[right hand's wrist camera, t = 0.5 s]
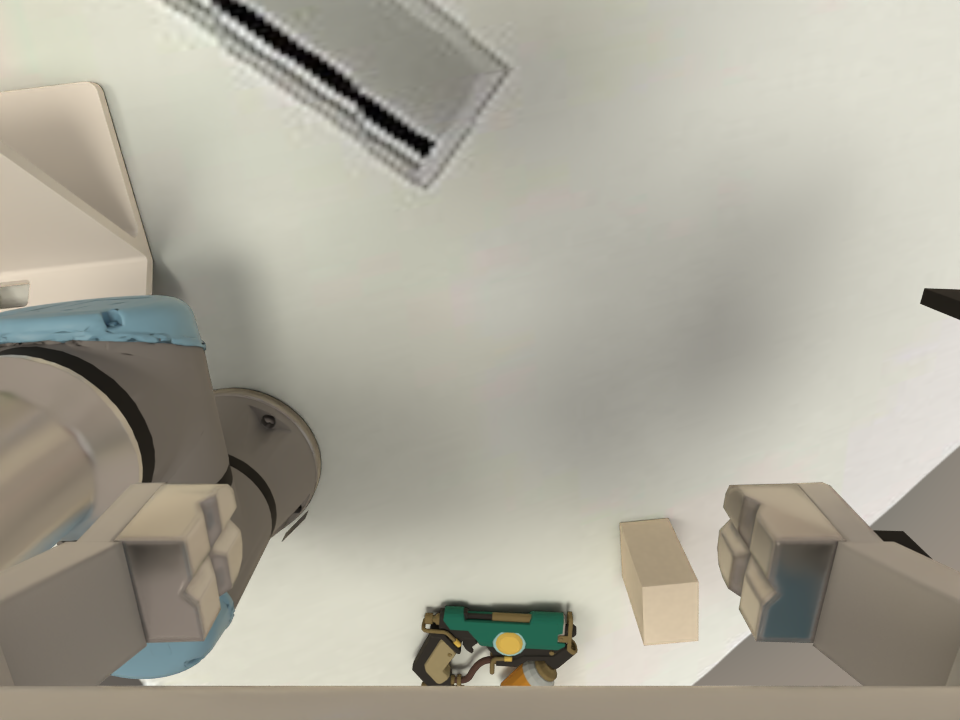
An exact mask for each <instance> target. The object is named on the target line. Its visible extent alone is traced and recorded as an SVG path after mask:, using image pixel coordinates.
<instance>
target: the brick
mask: <svg viewBox="0 0 960 720" xmlns="http://www.w3.org/2000/svg"><path fill="white" fill-rule="evenodd" d="M620 540H621V562H622V577H623V580H624V583H625V586H626V590H627V593H628V596H629V599H630V602H631V605H632V609H633V612H634V615H635V618H636V621H637V625H638V628H639V631H640V634H641V637H642V640H643V644H644V646H646V645H657V644H668V643H679V642H690V641H698V596H699V582H698V580H697V578H696V575H695V573H694V571H693V569H692V567H691V565H690V563H689V561H688V559H687V557H686V555H685V552H684V550H683V548H682V546H681V544H680V542H679V540H678V538H677V536H676V534H675V531H674V529H673V527H672V525H671V523H670V521H669V519H668V518H664V519H654V520H644V521H634V522H624V523H620Z"/></svg>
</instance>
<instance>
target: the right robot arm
mask: <svg viewBox="0 0 960 720" xmlns="http://www.w3.org/2000/svg"><path fill="white" fill-rule="evenodd" d="M236 508H237V505H236V500H235V495H234V491H233V489H232V488H231V487H230V486H229V485H228V484H200V483H164V482H163V483H136V484H132V485H130V486H129V487H128V488H127V489H126V490H125V491H124V492H123V493H122V494H121V495H120V497H119V498H118V499H117V500H116V501H115V502H114V503H113V504H112V505H111V506H110V507H109V508H108V509H107V510H106V511H105V512H104V513H103V514H102V515H101V516H100V517H99V518H98V519H97V521H96V522H95V523H94V524H93V525H92V526H91V527H90V528H89V529H88V530H87V531H86V532H85V533H84V534H83V535H82V536H81V537H80V538H79V539H78V540H77V541H76V542H64V543H62V544H60V545H58V546H56V547H53V548H51V549H49V550H47V551H45V552H43V553H40V554H38V555H36V556H34V557H32V558H30V559H27V560H25V561H23V562H21V563H19V564H16V565H14V566H12V567H10V568H8V569H6V570H3V571H1V572H0V720H960V572H959V571H956V570H954V569H952V568H950V567H948V566H946V565H943V564H941V563H939V562H937V561H935V560H933V559H930V558H928V557H926V556H924V555H922V554H920V553H917V552H915V551H913V550H911V549H909V548H907V547H904V546H902V545H900V544H898V543H896V542H884V541H883V540H882V539H881V538H880V537H879V536H878V535H877V534H876V533H875V532H874V531H873V530H872V529H871V528H870V527H869V526H868V525H867V524H866V523H865V521H864V520H863V519H862V518H861V517H860V516H859V515H858V514H857V513H856V512H855V511H854V510H853V509H852V508H851V507H850V506H849V505H848V504H847V503H846V502H845V501H844V500H843V498H842V497H841V496H840V495H839V494H838V493H837V492H836V491H835V490H834V489H833V488H832V487H831V486H830V485H828V484H825V483H823V482H814V483H791V484H752V485H729V487H728V490H727V492H726V494H725V500H724V505H723V508H724V509H725V511H726V513H727V514H728V516H729V518H730V520H729V521H728V522H727V523H726V524H725V525H724V526H723V527H722V528H721V529H720V530H719V538H718V546H717V551H718V562H719V567H720V571H721V574H722V577H723V579H724V581H725V583H726V585H727V587H728V589H730V590H731V591H733V592H734V593H736V594H737V595H739V596H740V597H741V599H740V605H739V610H740V612H741V614H742V616H743V618H744V620H745V621H746V623H747V625H748V627H749V629H750V631H751V633H752V634H753V636H754V638H755V640H756V641H761V642H798V643H813V646H814V647H816V648H817V649H818V650H819V651H820V652H822V653H823V654H824V655H826V656H827V657H828V658H829V659H831V660H832V661H833V662H834V663H835V664H837V665H838V666H839V667H840V668H842V669H843V670H844V671H845V672H847V673H848V674H849V675H850V676H852V677H853V678H854V679H855V680H857V681H858V682H859V683H860V684H862V685H863V686H97V685H99V684H100V683H101V682H102V681H104V680H105V679H106V678H107V677H109V676H110V675H111V674H112V673H114V672H115V671H116V670H117V669H119V668H120V667H121V666H122V665H124V664H125V663H126V662H127V661H129V660H130V659H131V658H132V657H134V656H135V655H136V654H137V653H139V652H140V651H141V650H142V649H144V648H145V647H146V646H147V643H162V642H197V641H204V640H205V638H206V636H207V635H208V633H209V631H210V629H211V627H212V625H213V623H214V621H215V620H216V618H217V616H218V614H219V612H220V610H221V605H220V599H219V597H220V596H221V595H223V594H224V593H226V592H227V591H229V590H230V589H232V587H233V585H234V583H235V581H236V579H237V577H238V575H239V570H240V566H241V561H242V536H241V530H240V529H239V528H238V527H237V526H236V525H235V524H234V523H233V522H232V521H231V520H230V518H231V516H232V514H233V513H234V511H235V509H236Z"/></svg>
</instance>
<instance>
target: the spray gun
mask: <svg viewBox="0 0 960 720" xmlns="http://www.w3.org/2000/svg"><path fill="white" fill-rule="evenodd" d="M426 624H431V626H430V629H426V628H425V625H426ZM422 630H423V631H424V632H426V633H429V636H428V637H427V639H426V641H425V643H424V644H423V646H422V648H421V650H420V651H419V653H418V655H417V657H416V658H415V660H414V663H413V668H412V670H413V671H414V672H415V673H416V674H417V675H418V676H419V677H420V679H421V680H422V681H423V682H422V685H421V686H464V685H461V683H467V682H469V681H470V680H471V679H472V678H473V676H474V674H475V673H476V671H477V670H478V669H479V668H480V667H481V666H483V665H484V664H488V663H490V674H494V666H495V664H496V666H512V667H517V666H519V665H520V666H519V667H518V668H517V669H516V670H515V671H513V672H512V673H511V674H510V675H509V676H508V677H507V678H506V679H505V680H504V681H503V682H502V683H501V685H500V686H554V680H555V679H556V677H557V672H556V669H557V668H559V667H560V666H561V665H562V664H564V663H565V662H566V661H567V660H569V659H570V658H571V657H572V656H573V655H575V654H576V653H577V645H576V643H575V642H574V641H573V640H572V637H574V636H575V635H576V626H575V625H573V616H572V612H567V624H565V615H564V614H563V613H562V612H544V611H531V612H530V614H522V613H501V612H480V611H468V608H465V607H459V606H445V608H441V610H440V613H437V614H436V615H433V613H426V614H425V618H424V619H423V622H422ZM462 641H463V645H464V647H465V649H466V650H467V651H469V652H470V653H472V652H473V648H472V646H474V645H475V644H477V642H478V643H479V645H481V646H487V648H488V649H489V650H490V652H491V653H490V656H488V657H484V658H481V659H479V660H478V661H477V662H476V663H475V664H474V665H473V666H472V667H471V669H470V670H469V672H468V674H467V675H466V676H463V677H461V674H457V676H455V675H454V674H452V669H451V668H450V665H449V662H450V661H451V660H452V658H453V657H454V656H455V654H456V653H457V654H460V652H461V644H462ZM454 683H457V685H454Z"/></svg>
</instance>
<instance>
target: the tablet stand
mask: <svg viewBox="0 0 960 720" xmlns="http://www.w3.org/2000/svg"><path fill="white" fill-rule="evenodd" d="M152 277H153V260H152V256H151V253H150V250H149V246H148V243H147V239H146V236H145V232H144V229H143V226H142V222H141V219H140V215H139V212H138V209H137V205H136V202H135V198H134V195H133V191H132V188H131V185H130V181H129V178H128V174H127V171H126V168H125V164H124V161H123V157H122V154H121V150H120V147H119V144H118V140H117V137H116V133H115V130H114V127H113V123H112V120H111V116H110V113H109V110H108V106H107V103H106V99H105V96H104V92H103V90H102V88H101V87H100V86H99V85H98V84H96V83H93V82H77V83H69V84H61V85H53V86H45V87H37V88H28V89H20V90H12V91H4V92H0V287H4V286H13V285H22V284H30V287H29V297H28V304H27V305H26V306H24V307H30V306H37V305H44V304H51V303H59V302H67V301H76V300H85V299H96V298H107V297H120V296H139V295H152ZM24 307H17V308H8V309H0V312H4V311H9V310H14V309H19V308H24Z"/></svg>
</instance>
